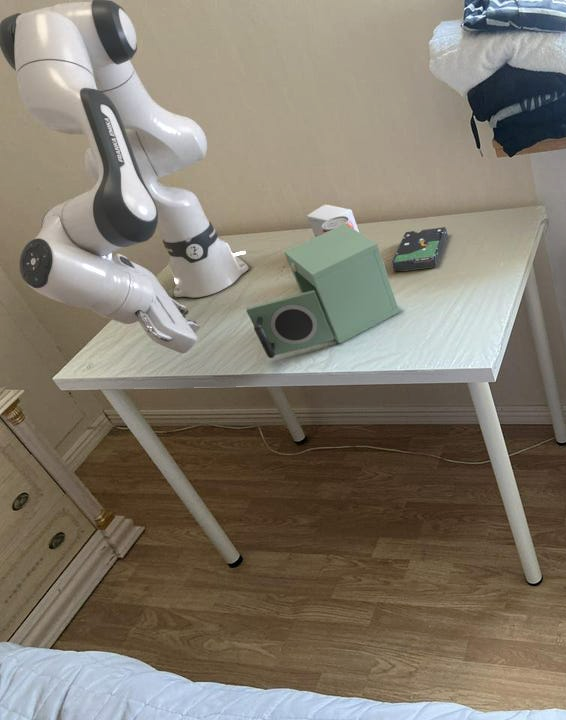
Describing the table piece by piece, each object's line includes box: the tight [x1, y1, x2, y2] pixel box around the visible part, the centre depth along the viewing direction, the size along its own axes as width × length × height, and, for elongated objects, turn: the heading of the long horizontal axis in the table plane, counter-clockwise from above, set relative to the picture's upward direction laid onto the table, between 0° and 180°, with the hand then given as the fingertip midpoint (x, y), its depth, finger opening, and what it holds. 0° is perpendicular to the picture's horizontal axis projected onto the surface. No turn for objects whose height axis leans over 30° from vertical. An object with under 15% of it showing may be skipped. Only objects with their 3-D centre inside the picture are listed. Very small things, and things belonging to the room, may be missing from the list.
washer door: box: [245, 290, 335, 359], centre depth 133 cm, size 5×13×11 cm, turn 99°
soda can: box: [322, 216, 355, 234], centre depth 158 cm, size 7×7×13 cm
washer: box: [283, 224, 400, 344], centre depth 142 cm, size 14×15×16 cm
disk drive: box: [391, 226, 449, 272], centre depth 161 cm, size 10×3×15 cm
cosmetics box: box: [306, 203, 360, 238], centre depth 170 cm, size 10×6×10 cm, turn 50°
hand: (190, 320), depth 128 cm, fingers open, 3 cm apart
